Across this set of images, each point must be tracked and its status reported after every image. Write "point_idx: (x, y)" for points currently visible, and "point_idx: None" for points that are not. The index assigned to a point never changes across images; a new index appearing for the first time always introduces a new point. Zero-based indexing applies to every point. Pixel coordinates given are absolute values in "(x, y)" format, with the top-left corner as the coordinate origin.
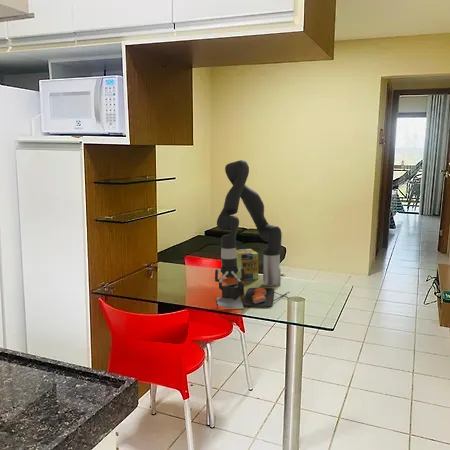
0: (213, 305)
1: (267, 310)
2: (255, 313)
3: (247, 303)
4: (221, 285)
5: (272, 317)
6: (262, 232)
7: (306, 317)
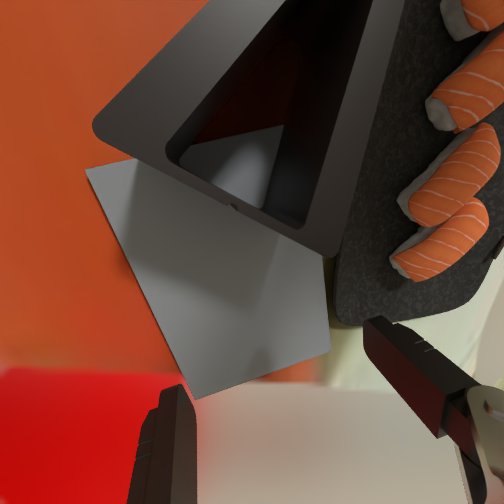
0: (132, 332)
1: (429, 332)
2: (374, 376)
3: (356, 280)
4: (190, 487)
5: None
6: None
7: None
